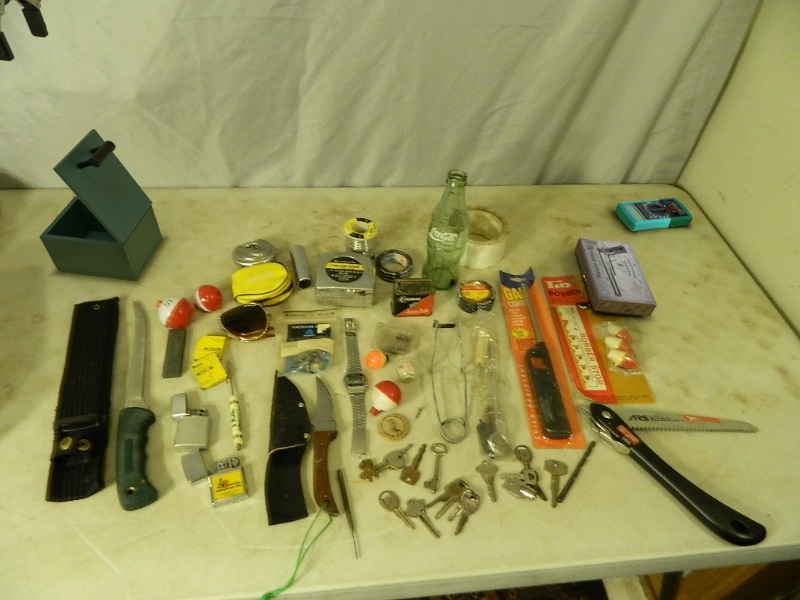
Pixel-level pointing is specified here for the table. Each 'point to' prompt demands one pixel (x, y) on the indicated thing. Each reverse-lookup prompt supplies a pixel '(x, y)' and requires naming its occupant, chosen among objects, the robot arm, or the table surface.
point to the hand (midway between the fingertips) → (24, 47)
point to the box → (614, 277)
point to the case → (99, 244)
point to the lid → (104, 185)
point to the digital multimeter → (653, 214)
